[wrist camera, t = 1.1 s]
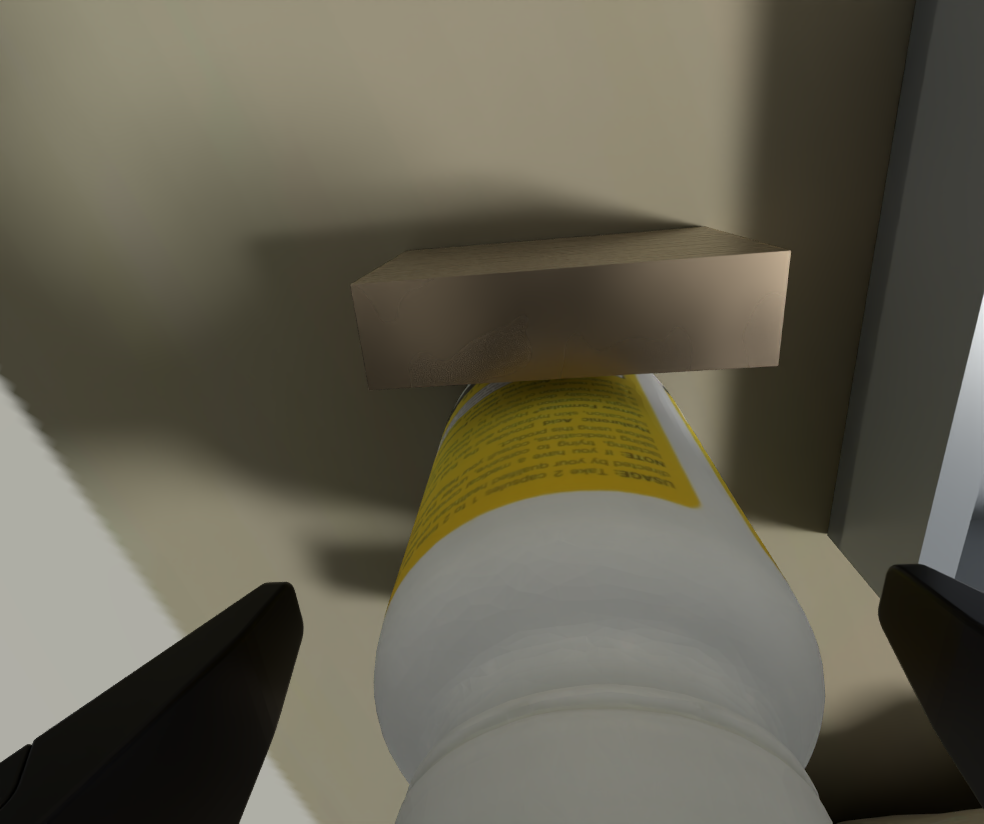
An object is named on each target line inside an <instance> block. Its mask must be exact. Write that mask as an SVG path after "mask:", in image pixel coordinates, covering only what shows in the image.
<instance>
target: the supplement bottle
mask: <svg viewBox="0 0 984 824" xmlns="http://www.w3.org/2000/svg"><path fill="white" fill-rule="evenodd" d="M374 698H375V704H376V710H377V715H378V719H379V723H380V727H381V731H382V734H383V737H384V740H385V742H386V745H387V747H388V749H389V752H390V754H391V755H392V757H393V759H394V761H395V762H396V764H397V766H398V768H399V770H400V771H401V773H402V774H403V776H404V777H405V778H406V780H407V781H408V783H409V784H410V785H409V788H408V791H407V794H406V798H405V800H404V801H403V803H402V805H401V808H400V811H399V813H398V816H397V819H396V822H395V824H833V823H832V821H831V819H830V817H829V815H828V813H827V811H826V809H825V807H824V806H823V804H822V803H821V801H820V799H819V795H818V792H817V790H816V788H815V786H814V784H813V783H812V781H811V779H810V777H809V776H808V774H807V773H806V771H805V770H804V769H805V767H806V766H807V764H808V762H809V760H810V757H811V755H812V753H813V750H814V748H815V745H816V743H817V739H818V735H819V732H820V728H821V724H822V718H823V712H824V703H825V686H824V675H823V666H822V660H821V656H820V652H819V647H818V644H817V642H816V639H815V636H814V633H813V631H812V628H811V626H810V624H809V622H808V619H807V617H806V615H805V613H804V611H803V609H802V608H801V606H800V604H799V602H798V601H797V599H796V597H795V595H794V594H793V592H792V590H791V588H790V586H789V584H788V583H787V581H786V579H785V578H784V576H783V574H782V573H781V571H780V570H779V568H778V567H777V565H776V563H775V562H774V560H773V559H772V557H771V555H770V554H769V552H768V551H767V549H766V547H765V546H764V544H763V543H762V541H761V540H760V538H759V537H758V535H757V534H756V532H755V530H754V529H753V527H752V525H751V524H750V522H749V521H748V519H747V518H746V516H745V515H744V513H743V511H742V510H741V508H740V507H739V505H738V504H737V502H736V500H735V498H734V497H733V495H732V494H731V492H730V491H729V489H728V487H727V485H726V484H725V482H724V481H723V479H722V478H721V476H720V474H719V472H718V471H717V469H716V467H715V466H714V464H713V462H712V461H711V459H710V457H709V456H708V454H707V453H706V452H705V450H704V448H703V447H702V445H701V443H700V441H699V440H698V438H697V436H696V435H695V433H694V432H693V430H692V429H691V427H690V425H689V424H688V422H687V421H686V419H685V417H684V416H683V414H682V412H681V411H680V409H679V407H678V406H677V404H676V403H675V401H674V400H673V399H672V397H671V396H670V394H669V393H668V391H667V390H666V389H665V387H664V386H663V385H662V383H661V382H660V381H659V380H658V379H657V378H656V376H655V375H654V374H652V373H650V374H633V375H616V376H600V377H583V378H566V379H549V380H533V381H516V382H499V383H482V384H468V386H467V387H466V389H465V390H464V391H463V393H462V394H461V396H460V398H459V399H458V401H457V403H456V405H455V407H454V409H453V411H452V413H451V415H450V417H449V420H448V422H447V424H446V427H445V430H444V433H443V436H442V438H441V442H440V445H439V448H438V451H437V455H436V458H435V461H434V464H433V467H432V470H431V473H430V477H429V480H428V483H427V486H426V489H425V492H424V495H423V498H422V502H421V505H420V508H419V511H418V514H417V517H416V520H415V523H414V526H413V530H412V533H411V536H410V539H409V542H408V545H407V548H406V551H405V554H404V557H403V561H402V564H401V567H400V570H399V573H398V576H397V579H396V582H395V585H394V588H393V591H392V594H391V597H390V601H389V604H388V607H387V610H386V613H385V617H384V622H383V626H382V630H381V634H380V638H379V642H378V647H377V652H376V661H375V671H374Z"/></svg>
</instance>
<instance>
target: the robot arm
mask: <svg viewBox="0 0 984 824" xmlns="http://www.w3.org/2000/svg"><path fill="white" fill-rule="evenodd" d="M878 616H879V621H880V624H881V627H882V629H883V631H884V633H885V635H886V637H887V639H888V641H889V643H890V645H891V647H892V649H893V651H894V653H895V655H896V657H897V659H898V661H899V663H900V665H901V667H902V669H903V671H904V673H905V675H906V677H907V679H908V681H909V683H910V685H911V686H912V688H913V690H914V692H915V694H916V696H917V698H918V700H919V702H920V704H921V706H922V708H923V710H924V712H925V714H926V716H927V718H928V720H929V721H930V723H931V725H932V727H933V729H934V731H935V732H936V734H937V735H938V737H939V739H940V740H941V742H942V744H943V745H944V747H945V749H946V750H947V752H948V754H949V755H950V757H951V758H952V760H953V761H954V763H955V765H956V766H957V768H958V769H959V771H960V773H961V774H962V776H963V777H964V779H965V781H966V782H967V784H968V785H969V787H970V788H971V790H972V792H973V793H974V795H975V796H976V798H977V800H978V801H979V803H980V804H981V806H982V807H983V809H984V592H982V591H980V590H977V589H975V588H973V587H971V586H969V585H967V584H965V583H963V582H960V581H958V580H956V579H954V578H952V577H950V576H948V575H946V574H943V573H941V572H939V571H937V570H935V569H933V568H931V567H929V566H926V565H923V564H895V565H892V566H890V567H889V568H888V570H887V572H886V575H885V580H884V584H883V589H882V593H881V598H880V602H879V607H878ZM303 629H304V627H303V619H302V616H301V612H300V608H299V604H298V601H297V597H296V593H295V590H294V587H293V586H292V584H290V583H288V582H268V583H264V584H262V585H260V586H259V587H258V588H256V589H255V590H253V591H252V592H250V593H249V594H247V595H246V596H244V597H243V598H241V599H240V600H238V601H237V602H236V603H234V604H233V605H231V606H230V607H228V608H227V609H225V610H224V611H222V612H221V613H219V614H218V615H216V616H215V617H214V618H212V619H211V620H209V621H208V622H206V623H205V624H203V625H202V626H200V627H199V628H197V629H196V630H194V631H193V632H192V633H190V634H189V635H187V636H186V637H184V638H183V639H181V640H180V641H178V642H177V643H175V644H174V645H172V646H171V647H169V648H168V649H167V650H165V651H164V652H162V653H161V654H159V655H158V656H156V657H155V658H153V659H152V660H151V661H149V662H147V663H146V664H145V665H143V666H142V667H140V668H139V669H137V670H136V671H134V672H133V673H132V674H130V675H128V676H127V677H125V678H124V679H122V680H121V681H120V682H118V683H117V684H115V685H114V686H112V687H111V688H109V689H108V690H106V691H105V692H103V693H102V694H101V695H99V696H98V697H96V698H95V699H93V700H92V701H90V702H89V703H87V704H86V705H84V706H83V707H81V708H80V709H79V710H77V711H76V712H74V713H73V714H71V715H70V716H68V717H67V718H65V719H64V720H62V721H61V722H60V723H58V724H57V725H55V726H53V727H52V728H51V729H49V730H48V731H46V732H45V733H43V734H42V735H40V736H39V737H37V738H36V739H35V740H34V741H33V744H32V745H31V744H27V745H25V746H24V747H23V748H21V749H19V750H18V751H17V752H15V753H14V754H12V755H11V756H9V757H8V758H6V759H5V760H4V761H2V762H1V763H0V824H239V822H240V819H241V817H242V815H243V812H244V809H245V807H246V805H247V802H248V800H249V797H250V795H251V792H252V790H253V787H254V785H255V782H256V780H257V777H258V775H259V772H260V769H261V767H262V765H263V762H264V760H265V757H266V755H267V752H268V750H269V747H270V744H271V742H272V739H273V736H274V733H275V731H276V727H277V724H278V721H279V718H280V715H281V711H282V708H283V704H284V701H285V697H286V694H287V690H288V687H289V683H290V680H291V676H292V673H293V669H294V666H295V662H296V659H297V655H298V652H299V648H300V645H301V641H302V637H303Z"/></svg>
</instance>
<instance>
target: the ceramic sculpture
mask: <svg viewBox="0 0 984 824" xmlns="http://www.w3.org/2000/svg"><path fill="white" fill-rule="evenodd" d="M837 824H984V809H983V808H980V809H971V810H964V811H956V812H949V813H941V814H915V815H892V816H884V817H876V818H867V819H859V820H851V821H844V822H840V823H837Z"/></svg>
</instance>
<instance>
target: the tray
mask: <svg viewBox="0 0 984 824" xmlns="http://www.w3.org/2000/svg"><path fill="white" fill-rule="evenodd" d="M827 535H828V537H829V538H830V539H831V540H832V541H833V543H834V544H835V545H836V546H837V547H838V549H839V550H840V551H841V552H842V553H843V555H844V556H845V557H846V558H847V559H848V561H849V562H850V563H851V564H852V565H853V567H854V568H855V569H856V570H857V571H858V573H859V574H860V575H861V576H862V577H863V579H864V580H865V581H866V582H867V583H868V585H869V586H870V587H871V588H872V589H873V591H874V592H875V593H876V594H877V595H878V597H879V598H881V593H882V589H883V584H884V580H885V575H886V572H887V570H888V568H889V567H890V566H892V565H895V564H923V565H926V566H929V567H931V568H933V569H935V570H937V571H939V572H941V573H943V574H946V575H948V576H950V577H952V578H954V579H956V580H958V581H960V582H963V583H965V584H967V585H969V586H971V587H973V588H975V589H977V590H980V591H982V592H984V0H916V4H915V10H914V16H913V22H912V28H911V34H910V40H909V46H908V52H907V58H906V64H905V70H904V76H903V82H902V88H901V94H900V100H899V106H898V112H897V118H896V124H895V130H894V136H893V142H892V148H891V154H890V161H889V167H888V173H887V179H886V185H885V191H884V197H883V203H882V209H881V215H880V221H879V227H878V233H877V239H876V245H875V251H874V257H873V263H872V269H871V275H870V281H869V287H868V293H867V299H866V305H865V311H864V317H863V323H862V329H861V335H860V341H859V347H858V353H857V359H856V365H855V371H854V378H853V384H852V390H851V396H850V402H849V408H848V414H847V420H846V426H845V432H844V438H843V444H842V450H841V456H840V462H839V468H838V474H837V480H836V486H835V492H834V498H833V504H832V510H831V516H830V522H829V528H828V534H827Z"/></svg>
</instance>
